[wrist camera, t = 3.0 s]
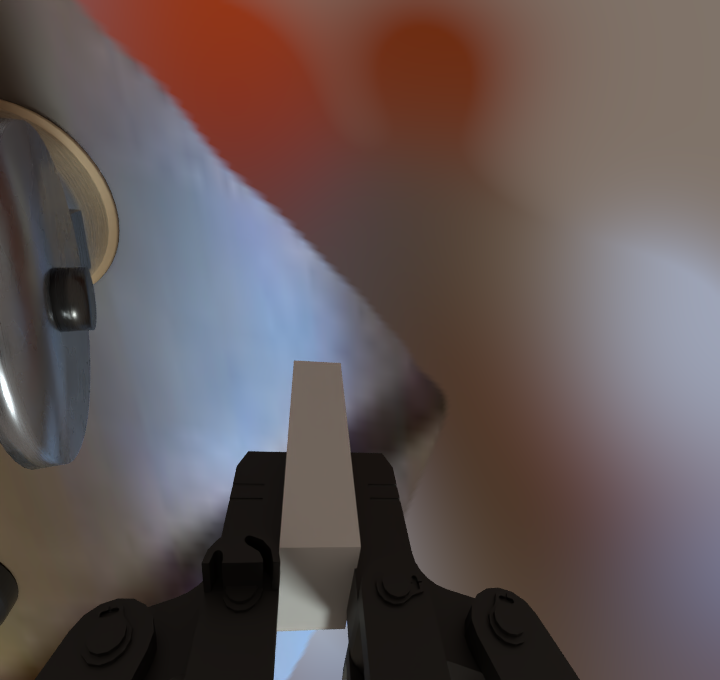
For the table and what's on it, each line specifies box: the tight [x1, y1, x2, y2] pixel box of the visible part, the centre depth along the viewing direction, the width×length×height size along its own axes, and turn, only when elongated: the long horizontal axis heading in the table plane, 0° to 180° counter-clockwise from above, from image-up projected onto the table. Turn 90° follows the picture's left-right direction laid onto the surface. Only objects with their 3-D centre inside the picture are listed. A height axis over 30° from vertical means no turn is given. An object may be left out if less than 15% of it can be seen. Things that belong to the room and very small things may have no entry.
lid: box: [0, 118, 96, 470], centre depth 18 cm, size 15×14×2 cm
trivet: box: [0, 99, 119, 284], centre depth 30 cm, size 14×14×1 cm
